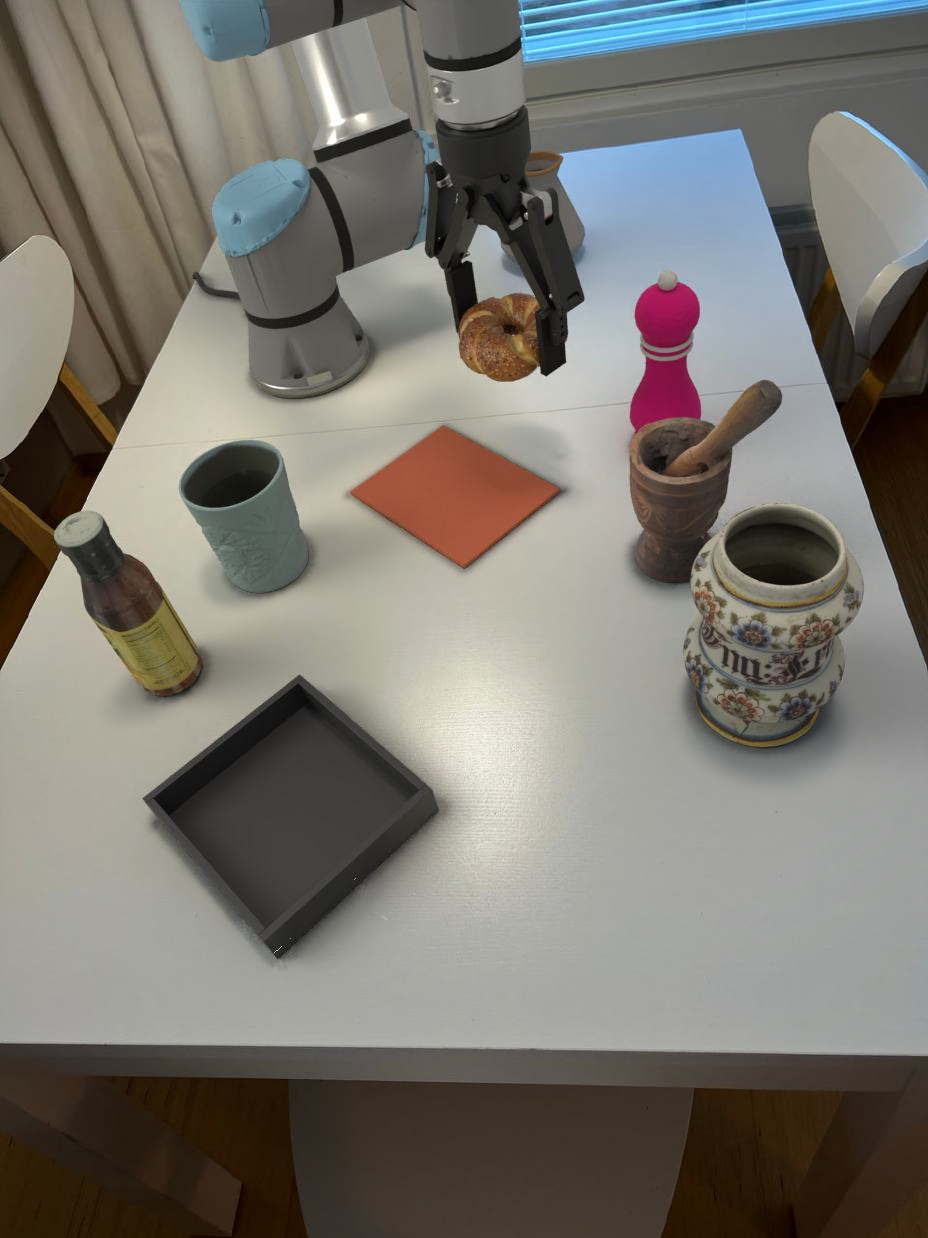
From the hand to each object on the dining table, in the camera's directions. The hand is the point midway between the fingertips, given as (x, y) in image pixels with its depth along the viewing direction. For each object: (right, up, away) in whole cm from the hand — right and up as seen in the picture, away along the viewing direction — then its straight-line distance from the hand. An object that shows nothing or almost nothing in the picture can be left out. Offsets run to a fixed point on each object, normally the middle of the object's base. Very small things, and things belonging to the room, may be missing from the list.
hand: (509, 346), depth 92 cm
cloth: (-6, -13, +8) cm, 17 cm away
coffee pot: (+6, +27, +41) cm, 49 cm away
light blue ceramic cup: (-25, -21, +6) cm, 33 cm away
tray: (-18, -42, -15) cm, 49 cm away
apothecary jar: (+20, -33, -14) cm, 41 cm away
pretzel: (0, 0, 0) cm, 1 cm away
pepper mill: (+17, -8, +8) cm, 21 cm away
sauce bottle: (-32, -32, -3) cm, 45 cm away
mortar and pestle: (+17, -20, -2) cm, 27 cm away
